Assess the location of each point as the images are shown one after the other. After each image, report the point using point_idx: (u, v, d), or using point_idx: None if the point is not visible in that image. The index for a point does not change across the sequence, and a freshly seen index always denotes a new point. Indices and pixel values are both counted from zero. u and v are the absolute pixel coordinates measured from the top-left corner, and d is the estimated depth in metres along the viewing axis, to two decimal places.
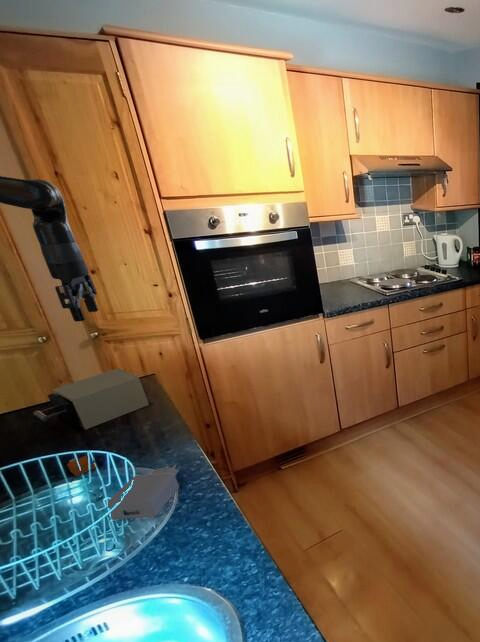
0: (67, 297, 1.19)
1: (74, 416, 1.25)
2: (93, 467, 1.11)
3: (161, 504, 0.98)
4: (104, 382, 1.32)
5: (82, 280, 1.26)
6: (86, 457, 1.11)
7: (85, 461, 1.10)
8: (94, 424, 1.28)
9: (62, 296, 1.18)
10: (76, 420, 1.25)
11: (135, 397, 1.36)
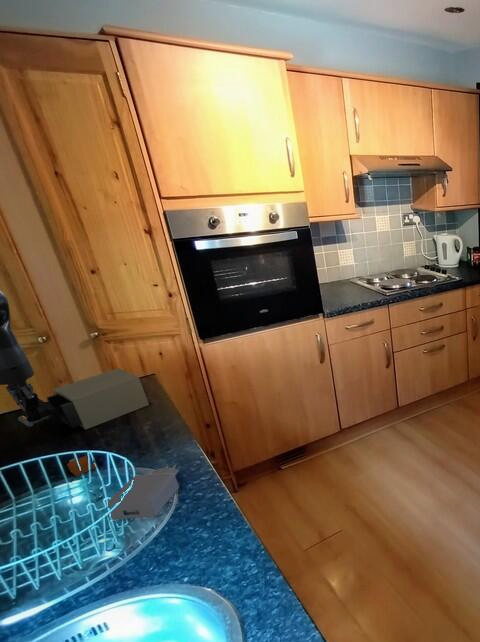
0: (35, 402, 1.18)
1: (59, 421, 1.22)
2: (93, 467, 1.11)
3: (161, 504, 0.98)
4: (104, 382, 1.32)
5: None
6: (86, 457, 1.11)
7: (85, 461, 1.10)
8: (94, 424, 1.28)
9: (30, 403, 1.17)
10: (62, 425, 1.23)
11: (135, 397, 1.36)
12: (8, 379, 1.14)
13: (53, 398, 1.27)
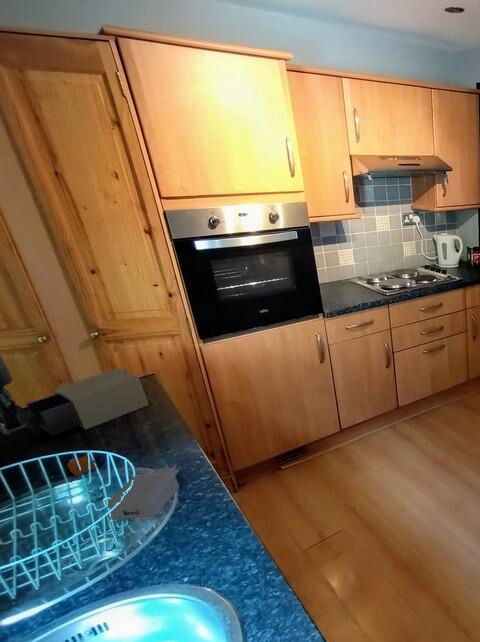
0: (13, 410, 1.15)
1: (39, 429, 1.19)
2: (93, 467, 1.11)
3: (161, 504, 0.98)
4: (104, 382, 1.32)
5: None
6: (86, 457, 1.11)
7: (85, 461, 1.10)
8: (94, 424, 1.28)
9: (7, 410, 1.14)
10: (41, 433, 1.19)
11: (135, 397, 1.36)
12: None
13: (33, 405, 1.24)
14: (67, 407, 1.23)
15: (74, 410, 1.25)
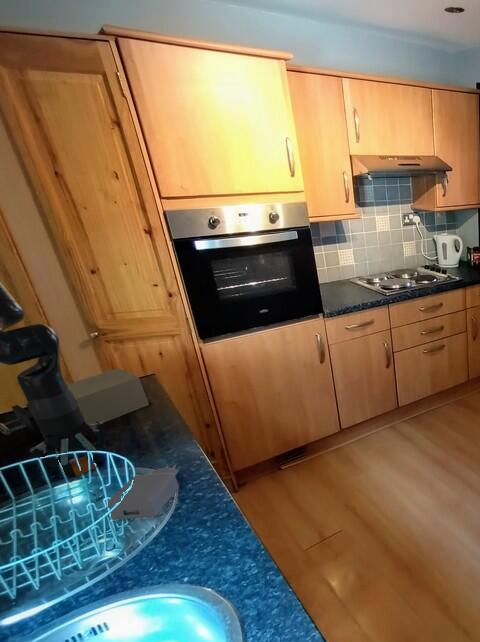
0: None
1: (39, 429, 1.19)
2: (93, 467, 1.11)
3: (161, 504, 0.98)
4: (104, 382, 1.32)
5: (80, 430, 1.08)
6: (86, 457, 1.11)
7: (85, 461, 1.10)
8: None
9: None
10: (41, 433, 1.19)
11: (135, 397, 1.36)
12: None
13: None
14: None
15: None
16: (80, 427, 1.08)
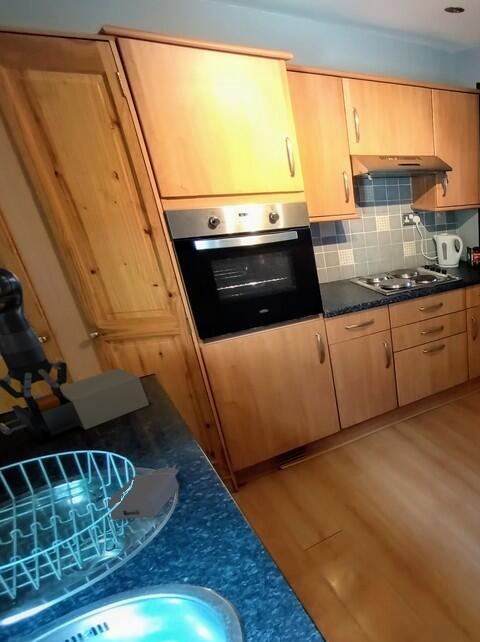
0: (6, 390, 1.15)
1: (39, 429, 1.19)
2: (58, 405, 1.24)
3: (161, 504, 0.98)
4: (104, 382, 1.32)
5: (42, 366, 1.20)
6: (51, 395, 1.24)
7: (50, 399, 1.23)
8: (94, 424, 1.28)
9: (3, 388, 1.16)
10: (41, 433, 1.19)
11: (135, 397, 1.36)
12: None
13: None
14: (67, 407, 1.23)
15: (74, 410, 1.25)
16: (43, 364, 1.20)
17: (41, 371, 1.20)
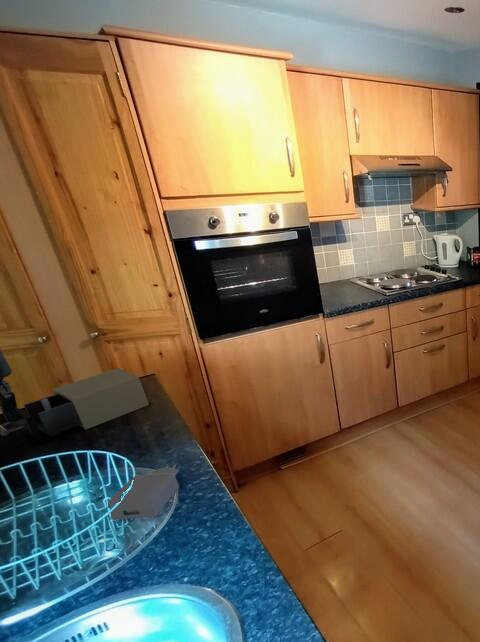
0: (12, 402, 1.14)
1: (36, 430, 1.18)
2: None
3: (161, 504, 0.98)
4: (104, 382, 1.32)
5: None
6: None
7: None
8: (94, 424, 1.28)
9: (7, 403, 1.13)
10: (38, 434, 1.19)
11: (135, 397, 1.36)
12: None
13: (31, 405, 1.24)
14: (65, 408, 1.23)
15: (72, 411, 1.24)
16: None
17: (5, 382, 1.16)
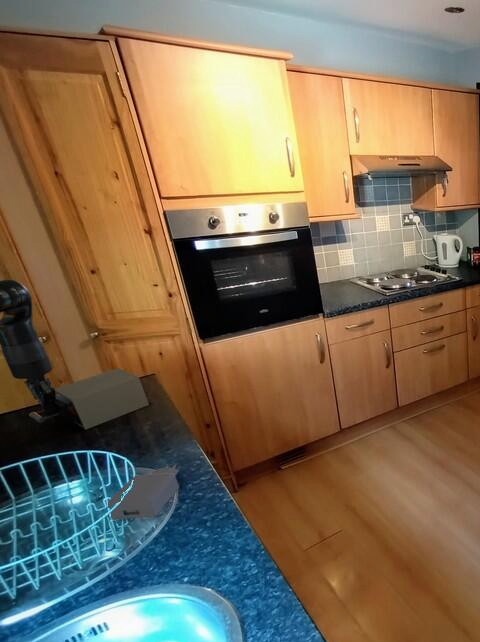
0: (52, 397, 1.21)
1: (70, 417, 1.24)
2: None
3: (161, 504, 0.98)
4: (104, 382, 1.32)
5: None
6: None
7: None
8: (94, 424, 1.28)
9: (47, 397, 1.20)
10: (72, 421, 1.24)
11: (135, 397, 1.36)
12: (28, 373, 1.16)
13: None
14: None
15: None
16: None
17: None
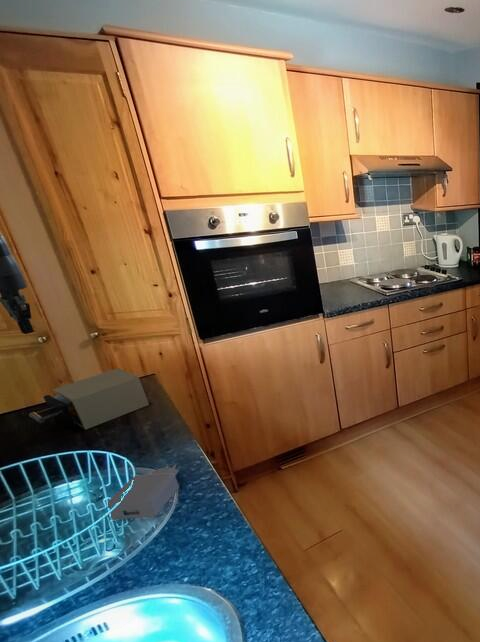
0: (27, 313, 1.23)
1: (70, 418, 1.24)
2: None
3: (161, 504, 0.98)
4: (104, 382, 1.32)
5: None
6: None
7: None
8: (94, 424, 1.28)
9: (22, 313, 1.22)
10: (72, 422, 1.24)
11: (135, 397, 1.36)
12: (1, 287, 1.19)
13: None
14: None
15: None
16: None
17: None
